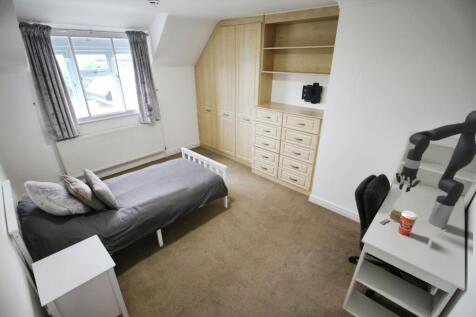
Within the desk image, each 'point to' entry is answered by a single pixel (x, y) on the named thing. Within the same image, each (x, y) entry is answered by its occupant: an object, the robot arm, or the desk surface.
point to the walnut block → (395, 215)
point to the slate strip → (384, 221)
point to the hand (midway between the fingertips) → (403, 190)
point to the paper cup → (407, 222)
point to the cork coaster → (394, 220)
